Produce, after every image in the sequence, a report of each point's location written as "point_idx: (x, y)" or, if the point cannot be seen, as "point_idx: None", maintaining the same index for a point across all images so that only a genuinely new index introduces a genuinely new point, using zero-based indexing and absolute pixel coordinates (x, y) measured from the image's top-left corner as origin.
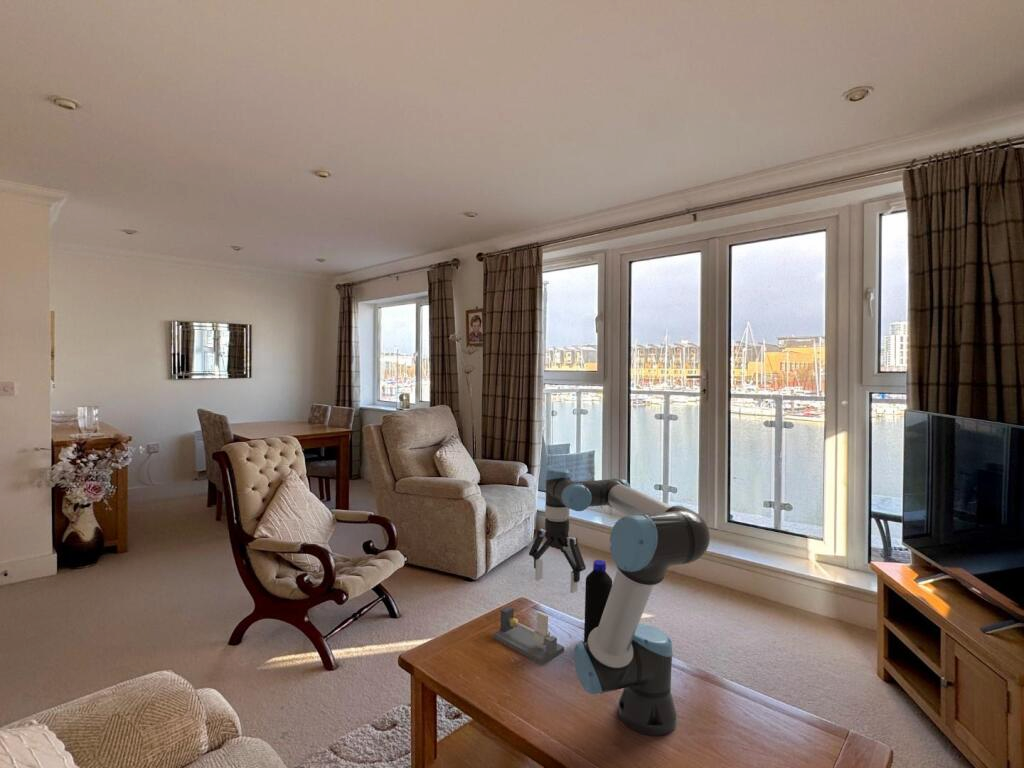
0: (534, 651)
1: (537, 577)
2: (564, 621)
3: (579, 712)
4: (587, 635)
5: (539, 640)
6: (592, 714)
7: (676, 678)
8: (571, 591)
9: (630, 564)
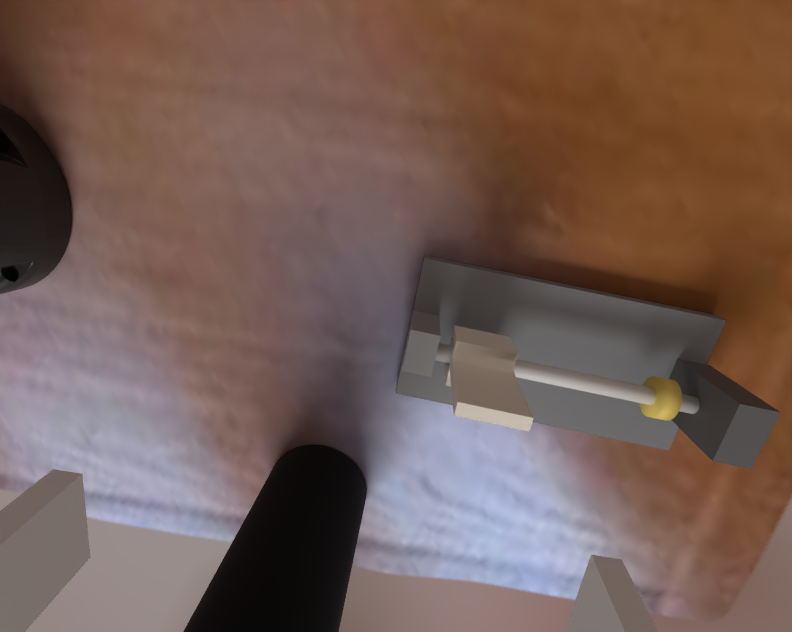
0: (485, 297)
1: (604, 595)
2: (493, 561)
3: (152, 62)
4: (326, 479)
5: (478, 335)
6: (111, 83)
7: (25, 437)
8: (53, 483)
9: None
